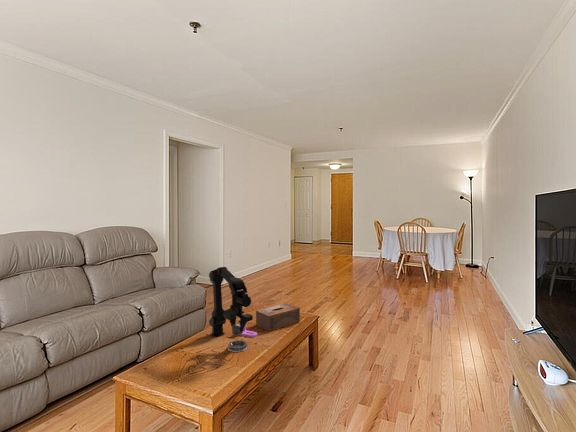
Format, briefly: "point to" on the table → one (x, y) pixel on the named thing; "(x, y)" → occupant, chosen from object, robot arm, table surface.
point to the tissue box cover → (277, 316)
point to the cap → (236, 329)
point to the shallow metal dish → (237, 346)
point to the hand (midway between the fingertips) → (237, 330)
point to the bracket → (248, 333)
